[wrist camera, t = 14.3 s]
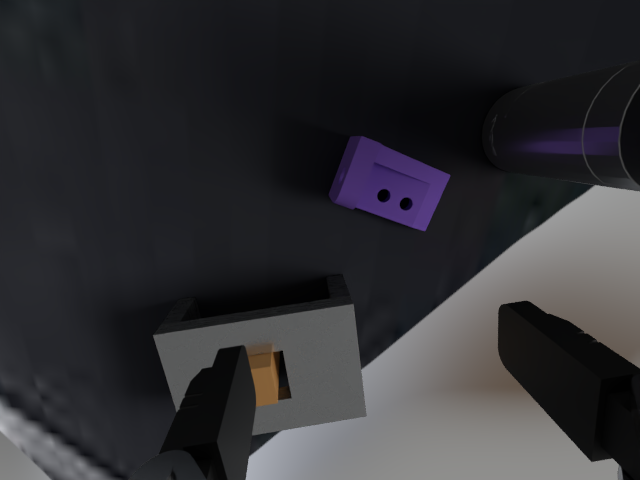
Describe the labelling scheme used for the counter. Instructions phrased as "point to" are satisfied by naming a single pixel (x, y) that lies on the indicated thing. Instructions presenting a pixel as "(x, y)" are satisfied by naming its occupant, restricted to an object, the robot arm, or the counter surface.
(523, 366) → the robot arm
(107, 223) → the counter surface
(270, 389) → the orange rectangular block
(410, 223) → the bracket
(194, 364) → the grey slotted platform
